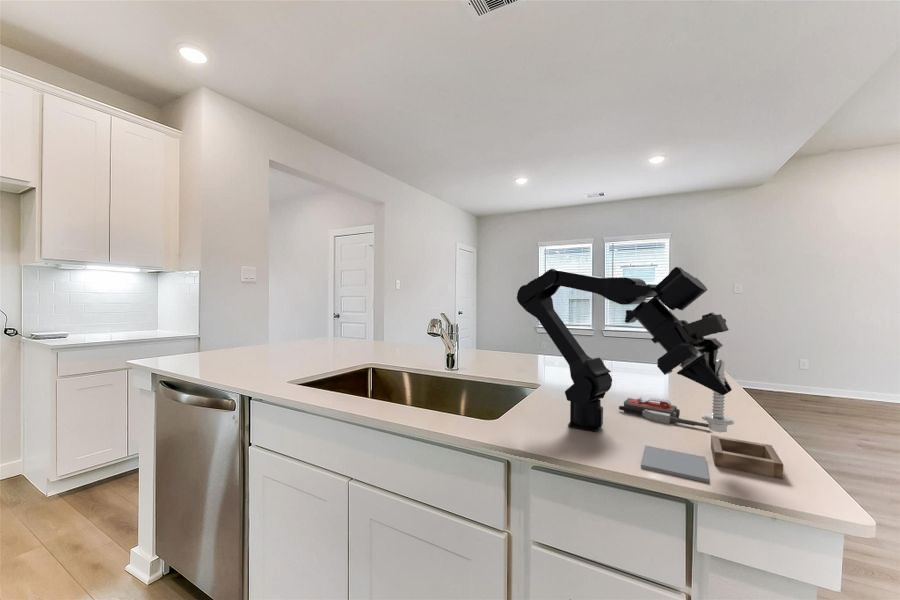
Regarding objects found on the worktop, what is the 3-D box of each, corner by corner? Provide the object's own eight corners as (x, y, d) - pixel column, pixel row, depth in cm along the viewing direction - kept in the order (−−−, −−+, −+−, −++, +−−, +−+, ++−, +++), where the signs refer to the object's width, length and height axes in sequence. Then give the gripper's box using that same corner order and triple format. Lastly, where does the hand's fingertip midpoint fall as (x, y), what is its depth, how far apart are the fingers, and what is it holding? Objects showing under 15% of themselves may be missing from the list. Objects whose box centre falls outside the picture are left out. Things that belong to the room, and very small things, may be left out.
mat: (640, 467, 66) (640, 464, 66) (645, 448, 75) (645, 445, 75) (709, 482, 61) (709, 479, 61) (705, 460, 70) (705, 456, 70)
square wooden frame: (714, 465, 68) (714, 451, 67) (710, 447, 76) (711, 435, 76) (783, 479, 63) (783, 464, 63) (771, 458, 71) (771, 445, 71)
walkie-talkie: (615, 415, 97) (709, 433, 84) (616, 398, 97) (709, 414, 84) (625, 407, 104) (712, 423, 91) (625, 391, 104) (713, 405, 91)
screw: (740, 433, 66) (719, 435, 65) (715, 424, 71) (694, 426, 70) (743, 361, 66) (721, 361, 65) (718, 356, 71) (697, 356, 69)
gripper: (679, 298, 64) (758, 374, 56) (712, 298, 76) (780, 360, 68) (631, 338, 70) (696, 412, 62) (668, 332, 83) (726, 393, 75)
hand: (727, 392), depth 67 cm, fingers closed on screw, 2 cm apart
